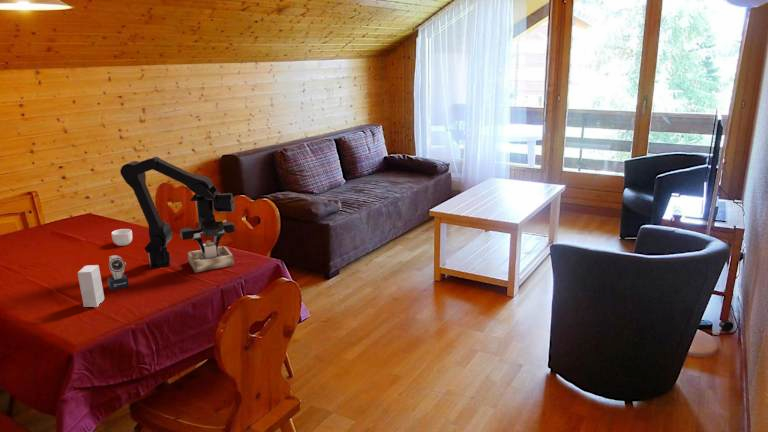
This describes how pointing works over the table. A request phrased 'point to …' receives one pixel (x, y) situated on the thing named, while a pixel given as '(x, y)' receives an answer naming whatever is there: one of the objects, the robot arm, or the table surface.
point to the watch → (117, 273)
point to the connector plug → (209, 249)
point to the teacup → (122, 237)
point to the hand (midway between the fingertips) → (209, 252)
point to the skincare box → (91, 286)
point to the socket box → (210, 260)
